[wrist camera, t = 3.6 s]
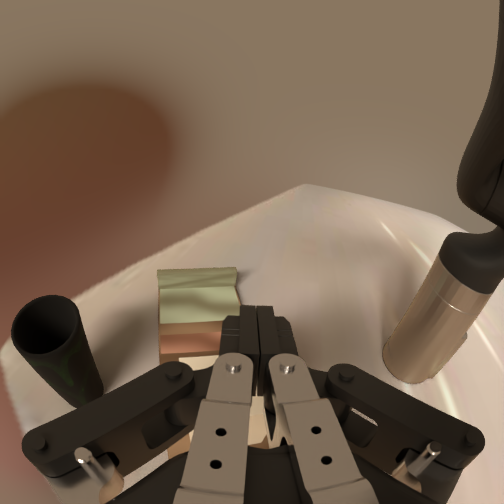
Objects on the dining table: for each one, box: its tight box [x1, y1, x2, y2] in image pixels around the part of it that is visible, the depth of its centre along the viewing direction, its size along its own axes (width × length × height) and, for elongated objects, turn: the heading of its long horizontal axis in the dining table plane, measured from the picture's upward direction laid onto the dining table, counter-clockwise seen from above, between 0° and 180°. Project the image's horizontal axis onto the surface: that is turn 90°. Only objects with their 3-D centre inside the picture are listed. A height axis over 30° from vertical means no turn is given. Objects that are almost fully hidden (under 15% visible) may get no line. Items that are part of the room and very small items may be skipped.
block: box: [179, 355, 267, 445], centre depth 22 cm, size 6×7×9 cm
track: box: [157, 267, 269, 459], centre depth 31 cm, size 29×12×4 cm, turn 13°
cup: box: [11, 295, 104, 408], centre depth 22 cm, size 8×8×12 cm
